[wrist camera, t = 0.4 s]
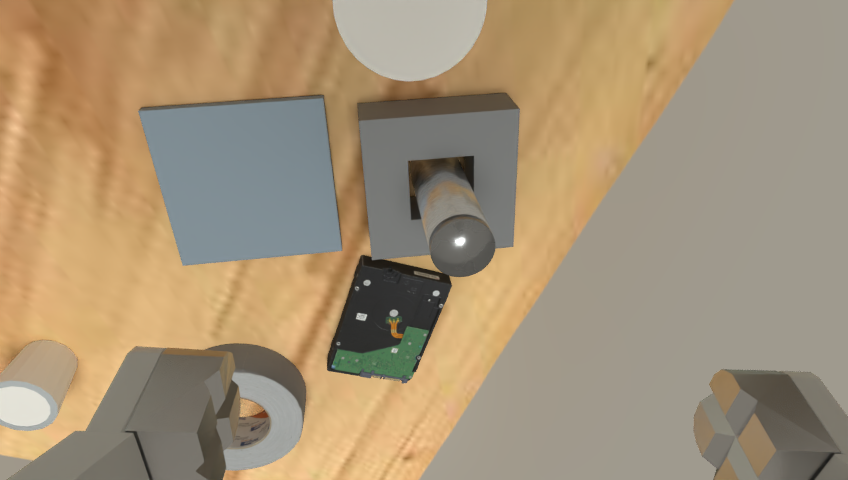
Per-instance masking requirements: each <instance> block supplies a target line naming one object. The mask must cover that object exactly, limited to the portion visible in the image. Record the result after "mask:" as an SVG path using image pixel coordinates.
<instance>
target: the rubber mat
mask: <svg viewBox="0 0 848 480" xmlns="http://www.w3.org/2000/svg"><path fill="white" fill-rule="evenodd" d="M138 112H139V115H140V119H141V122H142V126H143V129H144V133H145V136H146V140H147V143H148V146H149V150H150V153H151V157H152V160H153V164H154V167H155V171H156V174H157V178H158V181H159V185H160V188H161V192H162V195H163V198H164V202H165V205H166V209H167V212H168V216H169V219H170V223H171V226H172V230H173V233H174V237H175V240H176V244H177V247H178V251H179V254H180V257H181V261H182V264H183V266H184V265H195V264H205V263H216V262H227V261H238V260H248V259H259V258H270V257H281V256H291V255H302V254H313V253H324V252H334V251H342V242H341V234H340V226H339V218H338V210H337V201H336V193H335V185H334V177H333V169H332V161H331V153H330V145H329V137H328V129H327V121H326V113H325V105H324V97H323V95H317V96H302V97H288V98H274V99H260V100H245V101H231V102H217V103H202V104H188V105H174V106H160V107H145V108H141V109H140V110H139V111H138Z"/></svg>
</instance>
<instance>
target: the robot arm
mask: <svg viewBox="0 0 848 480" xmlns="http://www.w3.org/2000/svg"><path fill="white" fill-rule="evenodd" d="M234 370H235V363H234V358H233V353H231V352H228V351H212V350H196V349H179V348H155V347H138V346H136V347H135V348H133V349H132V350H131V351H130V352H129V353H128V354H127V355H126V357H125V359H124V361H123V363H122V365H121V366H120V368H119V370H118V372H117V374H116V376H115V377H114V379H113V381H112V383H111V385H110V387H109V388H108V390H107V392H106V394H105V396H104V398H103V400H102V401H101V403H100V405H99V407H98V409H97V411H96V412H95V414H94V416H93V418H92V420H91V422H90V423H89V425H88V427H87V429H86V431H75V432H73V433H72V434H70V435H69V436H68V437H66V438H65V439H63V440H62V441H61V442H59V443H58V444H56V445H55V446H53V447H52V448H51V449H49V450H48V451H46V452H45V453H44V454H42V455H41V456H39V457H38V458H37V459H35V460H34V461H32V462H31V463H29V464H28V465H27V466H25V467H24V468H22V469H21V470H20V471H18V472H17V473H16V474H14V475H13V476H11V477H10V478H8V479H7V480H223V477H224V473H225V470H226V462H225V457H224V452H223V451H224V450H225V449H227V448H228V447H229V446H230V445H231V444H232V443H233V442H234V439H235V435H236V431H237V428H238V422H239V414H240V392H239V386H238V385H237V384H236V383H235V382H234V381H233V380H232V376H233V373H234ZM709 385H710V387H711V389H712V391H713V394H711V395H710V396H708V397H707V398H705V399H703V400H702V401H701V402H700V403H699V405H698V407H697V410H696V412H695V415H694V434H695V439H696V443H697V445H698V447H699V450H700V452H701V454H702V456H703V457H704V458H705V459H706V460H707V461H709V462H710V463H711V464H712V465H713V466H714V467H716V468H717V469H716V472H715V476H714V479H713V480H848V416H847V415H846V414H845V412H844V411H843V410H842V408H841V407H840V405H839V404H838V403H837V401H836V400H835V399H834V397H833V396H832V395H831V393H830V392H829V390H828V389H827V388H826V387H825V385H824V384H823V382H822V381H821V380H820V378H818V377H817V376H816V375H814V374H813V373H811V372H793V371H779V372H778V371H767V370H766V371H764V370H727V369H722V370H720V371H719V372H717V373H716V374H714V376H713V378H712V380H711V382H710V384H709Z"/></svg>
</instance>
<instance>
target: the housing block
mask: <svg viewBox="0 0 848 480" xmlns="http://www.w3.org/2000/svg"><path fill="white" fill-rule="evenodd" d="M357 105H358V118H359V129H360V140H361V150H362V161H363V171H364V182H365V192H366V203H367V213H368V224H369V234H370V245H371V255H372V260H379V259H390V258H400V257H411V256H421V255H431V254H430V250H429V247H428V243H427V239H426V235H425V231H424V227H423V223H422V219H421V215H420V211H419V207H418V203H417V199H416V196H414V197H410V192H409V173H408V161H413V160H425V159H437V158H450V157H462V156H464V172H465V175H466V177H467V179H468V181H469V183H470V186H471V188H472V190H473V192H474V194H475V197H476V199H477V201H478V203H479V205H480V208H481V210H482V212H483V214H484V216H485V219H486V221H487V223H488V225H489V227H490V230H491V232H492V234H493V236H494V239H495V248H506V247H513V242H514V220H515V199H516V178H517V156H518V135H519V114H520V109H519V107H518V106H517V105H516V104H515V103H514V102H513V100H512V99H511V98H510V97H509V96H508V95H507V93H496V94H482V95H468V96H454V97H440V98H426V99H412V100H398V101H384V102H370V103H357Z"/></svg>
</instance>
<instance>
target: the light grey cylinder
mask: <svg viewBox="0 0 848 480" xmlns="http://www.w3.org/2000/svg"><path fill="white" fill-rule="evenodd" d="M76 369H77V358H76V356H75V354H74V352H73V351H71V350H70V349H69V348H68V347H67V346H65V345H63V344H60V343H58V342H56V341H49V340H39V341H34V342H32V343H30V344H28V345H26V346H25V347H24V348H23V349H22V350H21V351H20V353H19V354H18V355H17V356H16V357H15V358H14V359H13V360H12V361H11V362H10V364H9V365H8V366H7V367H6V368H5V369H4V370H3V371H2V372H1V373H0V425H2V426H5V427H8V428H11V429H14V430H24V431H32V430H37V429H43V428H44V427H46V426H48V425H50V424H51V423H53V421H54V420H55V418H56V417H57V415H58V413H59V410H60V408H61V406H62V403H63V401H64V398H65V396H66V393H67V391H68V389H69V386H70V384H71V381H72V379H73V376H74V374H75V372H76Z"/></svg>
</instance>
